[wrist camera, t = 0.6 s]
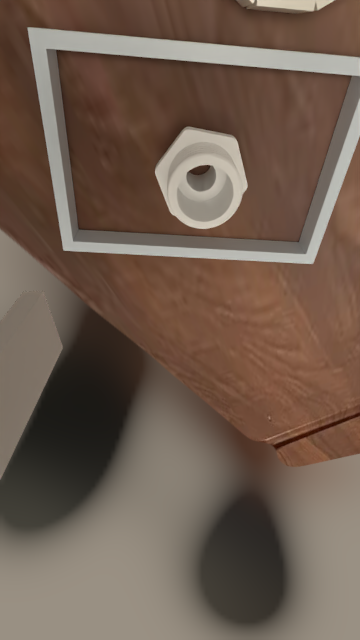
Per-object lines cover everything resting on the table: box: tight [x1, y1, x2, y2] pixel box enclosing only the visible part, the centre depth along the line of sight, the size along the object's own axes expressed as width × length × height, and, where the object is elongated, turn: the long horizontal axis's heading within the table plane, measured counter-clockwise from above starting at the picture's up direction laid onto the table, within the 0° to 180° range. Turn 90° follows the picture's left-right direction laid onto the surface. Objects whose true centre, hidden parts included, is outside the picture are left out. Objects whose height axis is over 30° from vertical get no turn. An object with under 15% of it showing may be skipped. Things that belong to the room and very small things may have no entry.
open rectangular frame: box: [27, 27, 360, 264], centre depth 29 cm, size 16×24×2 cm, turn 86°
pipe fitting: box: [155, 127, 247, 229], centre depth 27 cm, size 6×7×8 cm
